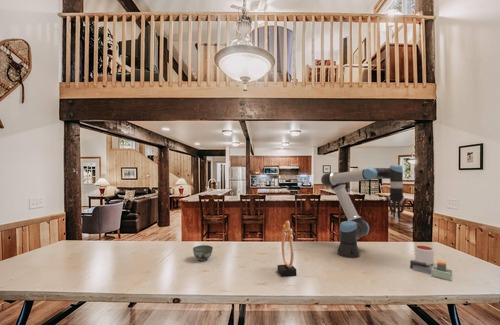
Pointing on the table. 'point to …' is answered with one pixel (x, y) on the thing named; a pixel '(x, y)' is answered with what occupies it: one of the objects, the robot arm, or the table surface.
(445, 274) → the end holder
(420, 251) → the cup
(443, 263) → the orange tall block
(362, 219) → the robot arm
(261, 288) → the table surface
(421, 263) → the charcoal brick
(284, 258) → the loop sculpture
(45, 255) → the table surface
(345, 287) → the table surface
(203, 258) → the bowl
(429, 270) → the clip
